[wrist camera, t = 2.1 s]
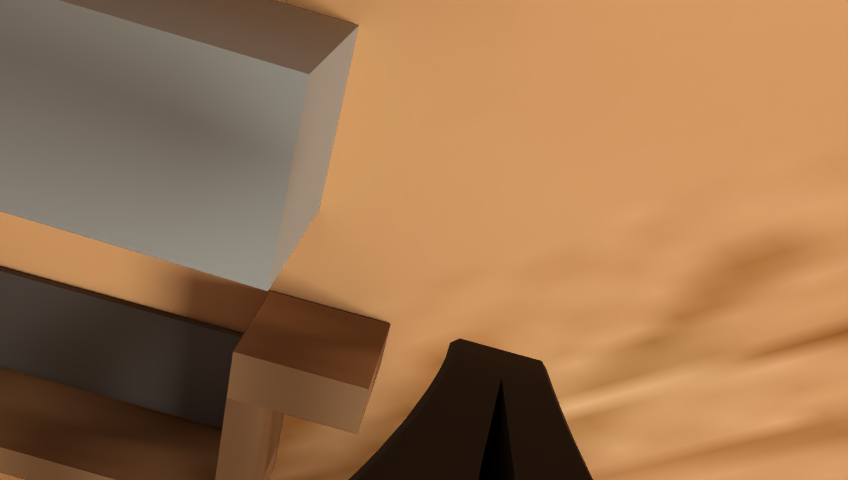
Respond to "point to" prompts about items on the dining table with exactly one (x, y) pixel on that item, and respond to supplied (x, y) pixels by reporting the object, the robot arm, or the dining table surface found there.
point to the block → (172, 125)
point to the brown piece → (168, 384)
